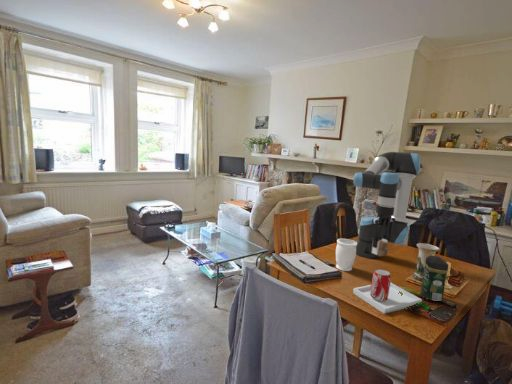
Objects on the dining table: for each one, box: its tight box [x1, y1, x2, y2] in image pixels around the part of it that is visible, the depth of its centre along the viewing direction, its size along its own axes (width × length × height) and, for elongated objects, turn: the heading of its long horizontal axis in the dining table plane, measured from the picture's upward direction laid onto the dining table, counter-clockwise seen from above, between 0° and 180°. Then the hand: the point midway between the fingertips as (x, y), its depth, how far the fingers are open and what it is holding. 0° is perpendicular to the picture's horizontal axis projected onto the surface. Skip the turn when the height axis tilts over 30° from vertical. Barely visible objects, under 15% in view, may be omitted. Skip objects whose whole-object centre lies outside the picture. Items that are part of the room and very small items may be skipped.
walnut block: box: [371, 240, 390, 257], centre depth 136 cm, size 5×5×6 cm
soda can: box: [370, 268, 392, 301], centre depth 121 cm, size 7×7×12 cm
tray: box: [352, 282, 423, 315], centre depth 124 cm, size 22×17×2 cm
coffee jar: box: [420, 255, 449, 302], centre depth 126 cm, size 10×8×19 cm
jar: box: [335, 238, 357, 272], centre depth 152 cm, size 11×10×15 cm
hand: (378, 253), depth 137 cm, fingers closed on walnut block, 5 cm apart
